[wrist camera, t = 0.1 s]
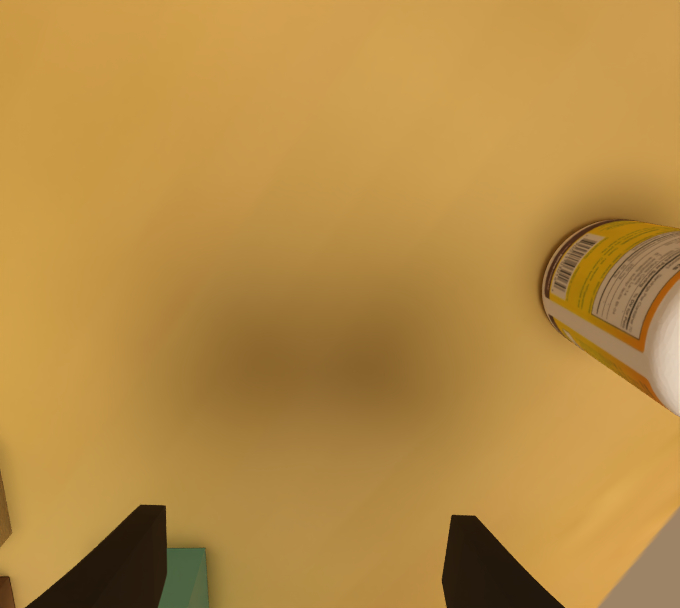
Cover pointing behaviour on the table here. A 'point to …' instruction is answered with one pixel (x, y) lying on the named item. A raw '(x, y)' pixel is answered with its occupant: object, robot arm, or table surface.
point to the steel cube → (4, 516)
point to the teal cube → (185, 579)
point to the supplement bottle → (622, 301)
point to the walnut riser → (6, 593)
